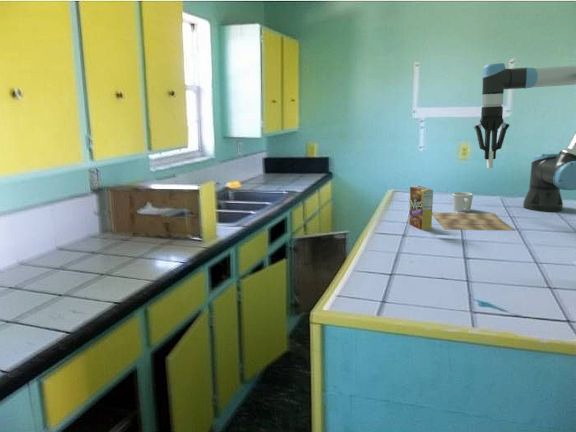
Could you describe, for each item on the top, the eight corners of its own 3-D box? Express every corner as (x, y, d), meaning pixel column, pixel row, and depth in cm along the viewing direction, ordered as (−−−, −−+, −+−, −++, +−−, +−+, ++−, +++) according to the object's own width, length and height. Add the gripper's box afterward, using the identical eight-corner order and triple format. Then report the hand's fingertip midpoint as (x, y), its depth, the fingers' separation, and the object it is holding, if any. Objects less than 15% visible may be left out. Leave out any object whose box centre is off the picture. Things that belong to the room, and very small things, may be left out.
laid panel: (500, 222, 189) (501, 219, 188) (515, 233, 173) (515, 230, 173) (435, 222, 191) (435, 218, 191) (444, 232, 175) (444, 229, 175)
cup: (476, 216, 200) (478, 196, 198) (456, 216, 200) (458, 196, 198) (467, 210, 210) (469, 191, 208) (448, 210, 210) (450, 192, 208)
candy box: (407, 227, 183) (409, 186, 180) (418, 226, 184) (420, 185, 181) (420, 233, 175) (423, 190, 171) (431, 232, 176) (434, 189, 173)
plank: (494, 216, 197) (494, 213, 196) (500, 222, 189) (500, 219, 189) (431, 215, 199) (431, 212, 199) (435, 221, 191) (435, 218, 191)
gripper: (506, 105, 194) (503, 165, 199) (471, 106, 195) (469, 167, 200) (513, 105, 186) (510, 168, 192) (477, 106, 187) (475, 169, 193)
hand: (489, 167), depth 196 cm, fingers closed
